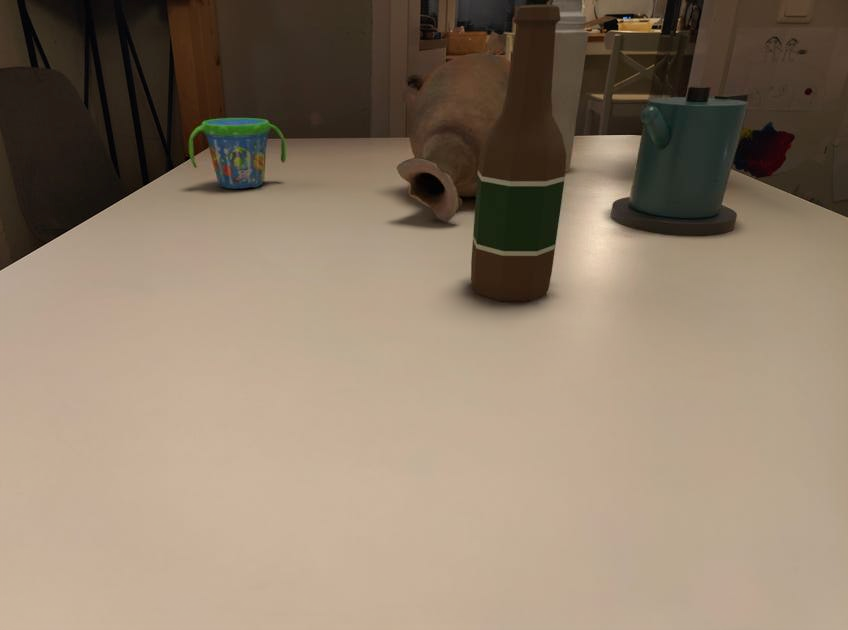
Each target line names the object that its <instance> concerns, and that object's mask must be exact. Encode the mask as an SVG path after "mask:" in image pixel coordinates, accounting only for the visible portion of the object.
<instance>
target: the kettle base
mask: <svg viewBox="0 0 848 630" xmlns="http://www.w3.org/2000/svg"><path fill="white" fill-rule="evenodd" d="M629 199H630V196H626V197H621V198H618V199H615V200H614V201H613V202H612V205H611V209H610V210H611V211H610V217H611V218H612V220H614V221H615V222H616V223H618V224H621V225H624V226H626V227H629V228H632V229H637V230H641V231H646V232H650V233H656V234H664V235H673V236H674V235H675V236H694V237H695V236H696V237H697V236H713V235H719V234H725V233H728V232H730V231H732V230H733V229H734V227H735V225H736V221H737V217H738V214H737V212H736V211H735V210H734V209H732V208H730V207H728V206H726V205H723V204H722V205H721V209H720V213H719V214H717V215H715V216H712V217H706V218H673V217H664V216H657V215H652V214H647V213H643V212H640V211H637V210H635V209H633V208H631V207H630V206H629Z"/></svg>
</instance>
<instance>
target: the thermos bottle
mask: <svg viewBox="0 0 848 630" xmlns="http://www.w3.org/2000/svg"><path fill="white" fill-rule="evenodd" d="M551 5H555V6H557V7H559V11H560V19H561V20H560V21H559V22H558V23H557V24H556V29H555V45H554V61H553V77H552V94H551V97H552V115H553V117H554V119H555V121H556V123H557V125H558V127H559V130H560V132H561V134H562V136H563V141H564V146H565V151H566V168H565V173H568V172H569V171H570V170H571V162H572V155H573V149H574V148H573V147H574V142H575V141H574V140H575V134H576V133H575V132H576V125H577V118H578V112H579V105H580V99H581V97H580V96H581V92H582V91H581V90H582V82H583V78H584V77H583V76H584V68H585V63H586V54H587V48H588V41H589V30H586V25H587V24H586V23H587V22H588V20H587V15H586V14H584V13H583V0H552V3H551Z"/></svg>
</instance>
